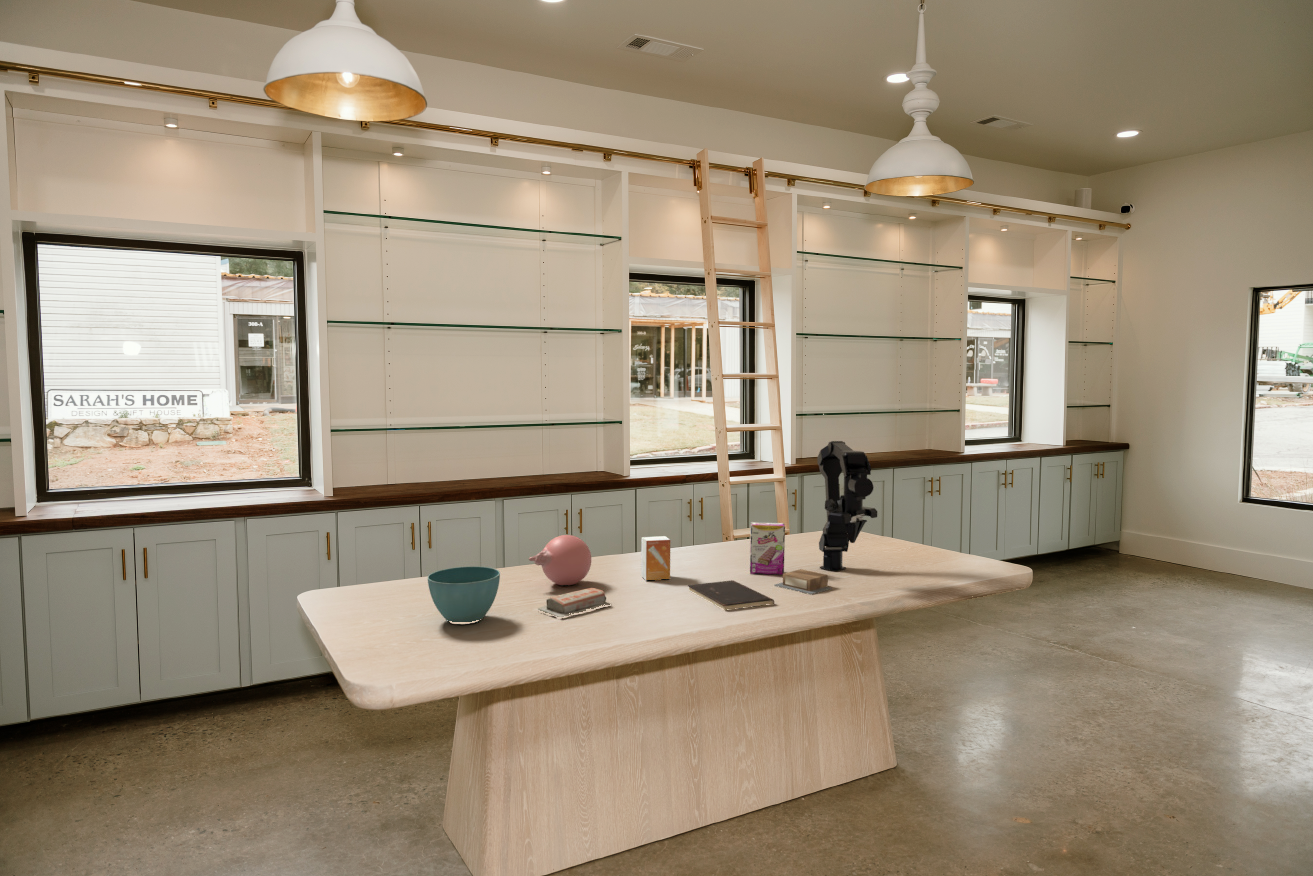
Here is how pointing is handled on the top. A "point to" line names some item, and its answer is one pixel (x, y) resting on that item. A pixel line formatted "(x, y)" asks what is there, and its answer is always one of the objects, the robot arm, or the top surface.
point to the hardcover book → (730, 594)
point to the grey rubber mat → (803, 590)
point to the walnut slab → (805, 580)
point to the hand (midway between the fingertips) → (852, 542)
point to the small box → (655, 558)
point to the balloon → (564, 560)
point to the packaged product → (574, 602)
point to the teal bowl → (464, 592)
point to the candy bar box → (767, 548)
